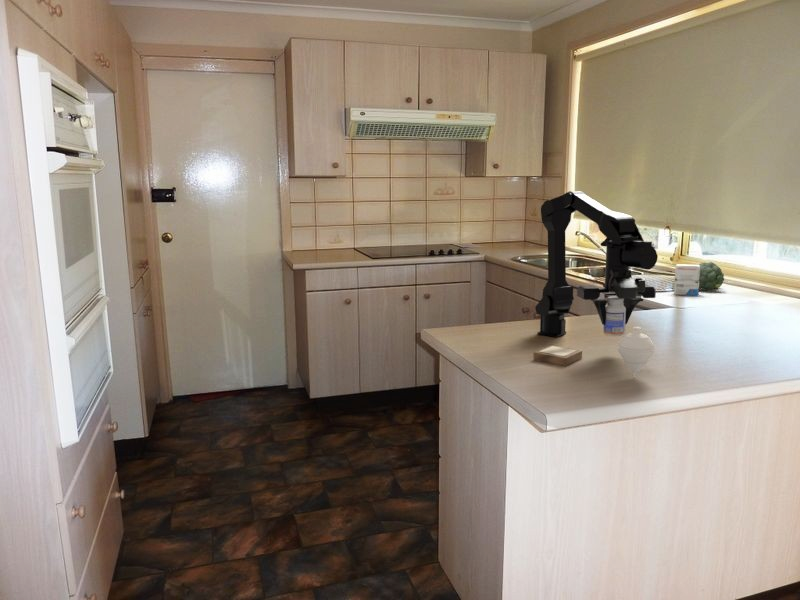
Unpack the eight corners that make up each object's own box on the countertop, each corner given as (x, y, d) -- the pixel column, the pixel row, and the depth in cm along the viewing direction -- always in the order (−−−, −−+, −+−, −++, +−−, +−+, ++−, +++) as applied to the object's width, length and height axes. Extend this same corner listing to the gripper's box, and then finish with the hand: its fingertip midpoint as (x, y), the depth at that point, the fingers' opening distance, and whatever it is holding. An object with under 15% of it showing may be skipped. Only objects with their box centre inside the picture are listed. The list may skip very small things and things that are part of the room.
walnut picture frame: (533, 359, 159) (533, 351, 159) (550, 352, 166) (550, 344, 166) (565, 366, 154) (565, 357, 153) (581, 358, 160) (582, 350, 160)
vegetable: (738, 285, 251) (720, 272, 243) (711, 304, 257) (692, 292, 249) (722, 265, 259) (704, 251, 251) (696, 284, 266) (678, 271, 257)
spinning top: (610, 377, 144) (613, 327, 142) (626, 370, 149) (628, 322, 147) (642, 385, 139) (646, 332, 136) (657, 377, 144) (660, 326, 142)
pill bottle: (608, 330, 166) (608, 295, 164) (628, 333, 163) (629, 296, 161) (600, 335, 162) (600, 298, 160) (620, 337, 159) (621, 300, 157)
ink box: (698, 294, 246) (701, 264, 243) (697, 296, 242) (699, 266, 239) (675, 292, 250) (677, 263, 248) (673, 294, 246) (675, 264, 244)
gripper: (593, 270, 150) (590, 332, 153) (668, 268, 152) (663, 330, 154) (577, 264, 161) (575, 322, 164) (647, 262, 162) (644, 320, 165)
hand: (614, 324), depth 162 cm, fingers closed on pill bottle, 5 cm apart
